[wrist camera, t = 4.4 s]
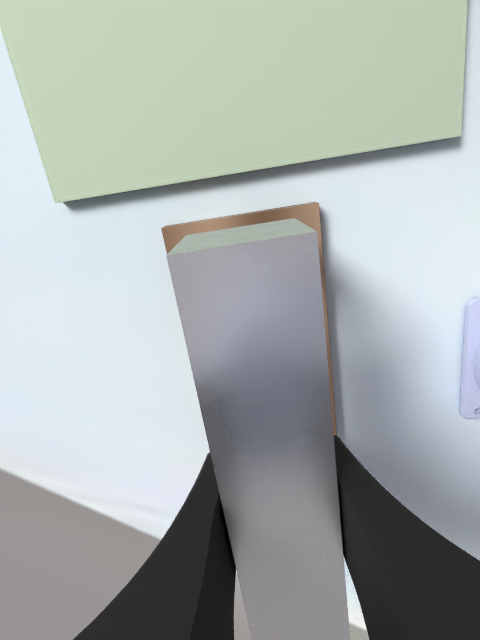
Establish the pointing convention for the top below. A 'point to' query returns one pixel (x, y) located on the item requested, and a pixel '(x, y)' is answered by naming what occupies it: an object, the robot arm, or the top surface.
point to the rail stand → (300, 212)
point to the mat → (228, 84)
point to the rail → (268, 418)
